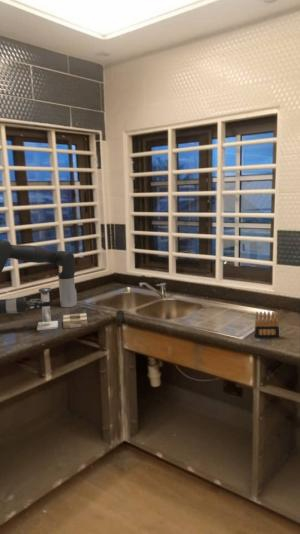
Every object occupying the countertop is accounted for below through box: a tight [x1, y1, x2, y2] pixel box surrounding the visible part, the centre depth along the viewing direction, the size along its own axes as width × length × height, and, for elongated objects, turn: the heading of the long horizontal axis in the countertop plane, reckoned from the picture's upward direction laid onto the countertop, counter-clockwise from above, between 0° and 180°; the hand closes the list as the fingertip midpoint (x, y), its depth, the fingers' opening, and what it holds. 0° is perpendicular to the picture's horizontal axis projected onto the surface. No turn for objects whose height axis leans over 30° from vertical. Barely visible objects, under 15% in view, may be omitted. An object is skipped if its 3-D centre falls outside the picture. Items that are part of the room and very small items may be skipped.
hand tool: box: [115, 309, 125, 328], centre depth 214 cm, size 19×4×5 cm, turn 179°
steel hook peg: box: [38, 287, 52, 322], centre depth 209 cm, size 6×6×17 cm
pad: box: [36, 320, 59, 331], centre depth 212 cm, size 10×10×1 cm
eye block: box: [62, 312, 89, 329], centre depth 214 cm, size 12×12×4 cm
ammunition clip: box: [253, 311, 280, 339], centre depth 184 cm, size 11×2×12 cm, turn 86°
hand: (51, 302), depth 210 cm, fingers closed on steel hook peg, 4 cm apart
